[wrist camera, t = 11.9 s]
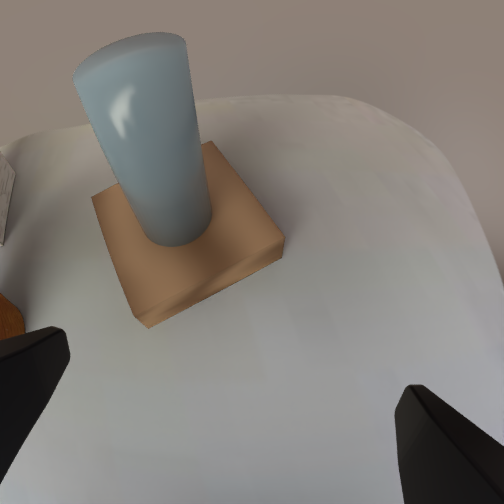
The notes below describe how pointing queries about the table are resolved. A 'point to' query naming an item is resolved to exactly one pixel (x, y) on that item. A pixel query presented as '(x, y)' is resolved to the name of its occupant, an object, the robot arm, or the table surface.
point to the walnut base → (189, 246)
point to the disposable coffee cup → (10, 320)
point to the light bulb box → (5, 193)
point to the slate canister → (150, 132)
